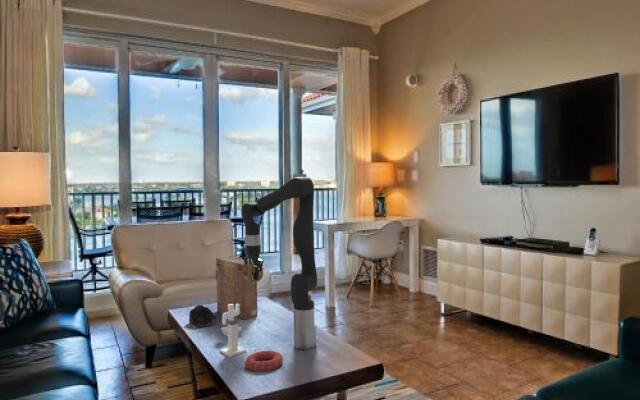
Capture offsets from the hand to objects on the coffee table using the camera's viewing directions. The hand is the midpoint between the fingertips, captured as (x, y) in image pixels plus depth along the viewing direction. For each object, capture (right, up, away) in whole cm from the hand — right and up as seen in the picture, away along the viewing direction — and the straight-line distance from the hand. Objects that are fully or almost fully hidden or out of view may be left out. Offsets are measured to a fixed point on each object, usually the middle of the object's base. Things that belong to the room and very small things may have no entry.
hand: (253, 279), depth 225 cm
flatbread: (0, -2, 0) cm, 2 cm away
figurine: (-10, -27, -2) cm, 29 cm away
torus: (+9, -29, -36) cm, 47 cm away
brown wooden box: (-14, -25, +33) cm, 44 cm away
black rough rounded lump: (-29, -26, +16) cm, 42 cm away
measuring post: (-6, -28, -23) cm, 36 cm away
